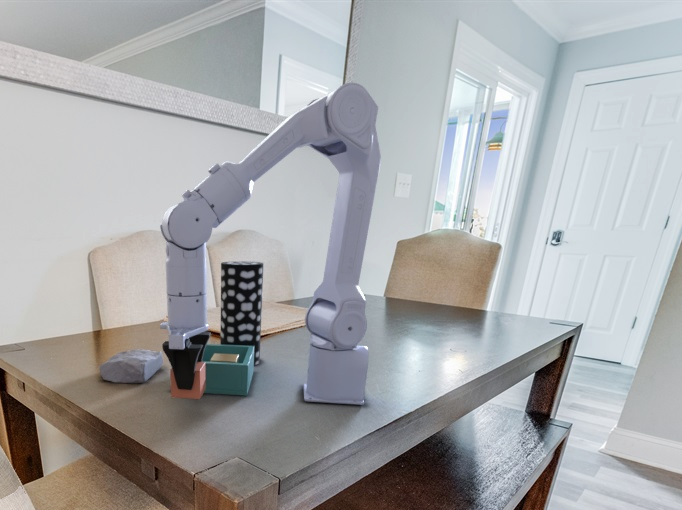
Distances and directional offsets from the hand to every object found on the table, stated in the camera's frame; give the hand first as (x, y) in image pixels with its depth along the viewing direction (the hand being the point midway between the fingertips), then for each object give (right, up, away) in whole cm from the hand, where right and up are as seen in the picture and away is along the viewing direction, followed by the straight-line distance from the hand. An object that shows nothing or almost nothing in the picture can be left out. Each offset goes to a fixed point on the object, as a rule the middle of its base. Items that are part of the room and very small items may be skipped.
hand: (188, 383), depth 71 cm
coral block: (0, -2, +1) cm, 2 cm away
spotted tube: (+9, +5, +27) cm, 29 cm away
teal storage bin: (+4, +1, +14) cm, 15 cm away
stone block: (-12, +2, +19) cm, 22 cm away
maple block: (+6, +1, +12) cm, 13 cm away
